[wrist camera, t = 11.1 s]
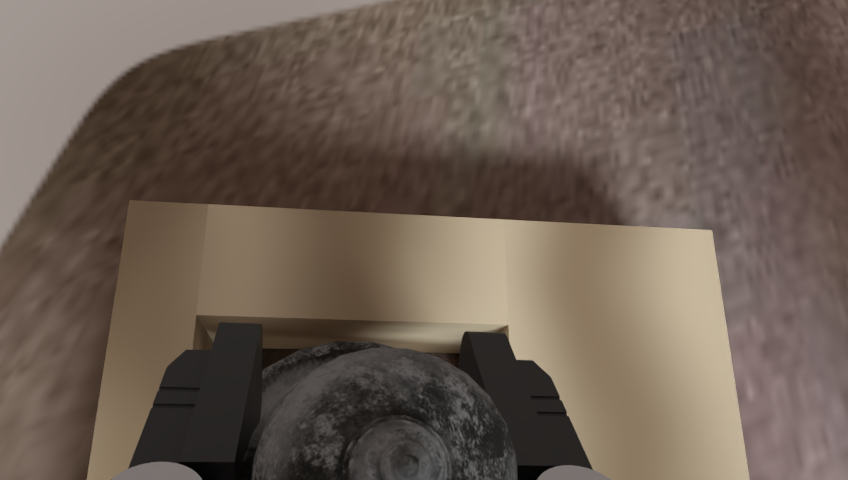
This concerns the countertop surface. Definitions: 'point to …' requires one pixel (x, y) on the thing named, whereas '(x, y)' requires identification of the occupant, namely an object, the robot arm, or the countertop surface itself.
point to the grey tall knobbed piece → (375, 419)
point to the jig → (442, 316)
